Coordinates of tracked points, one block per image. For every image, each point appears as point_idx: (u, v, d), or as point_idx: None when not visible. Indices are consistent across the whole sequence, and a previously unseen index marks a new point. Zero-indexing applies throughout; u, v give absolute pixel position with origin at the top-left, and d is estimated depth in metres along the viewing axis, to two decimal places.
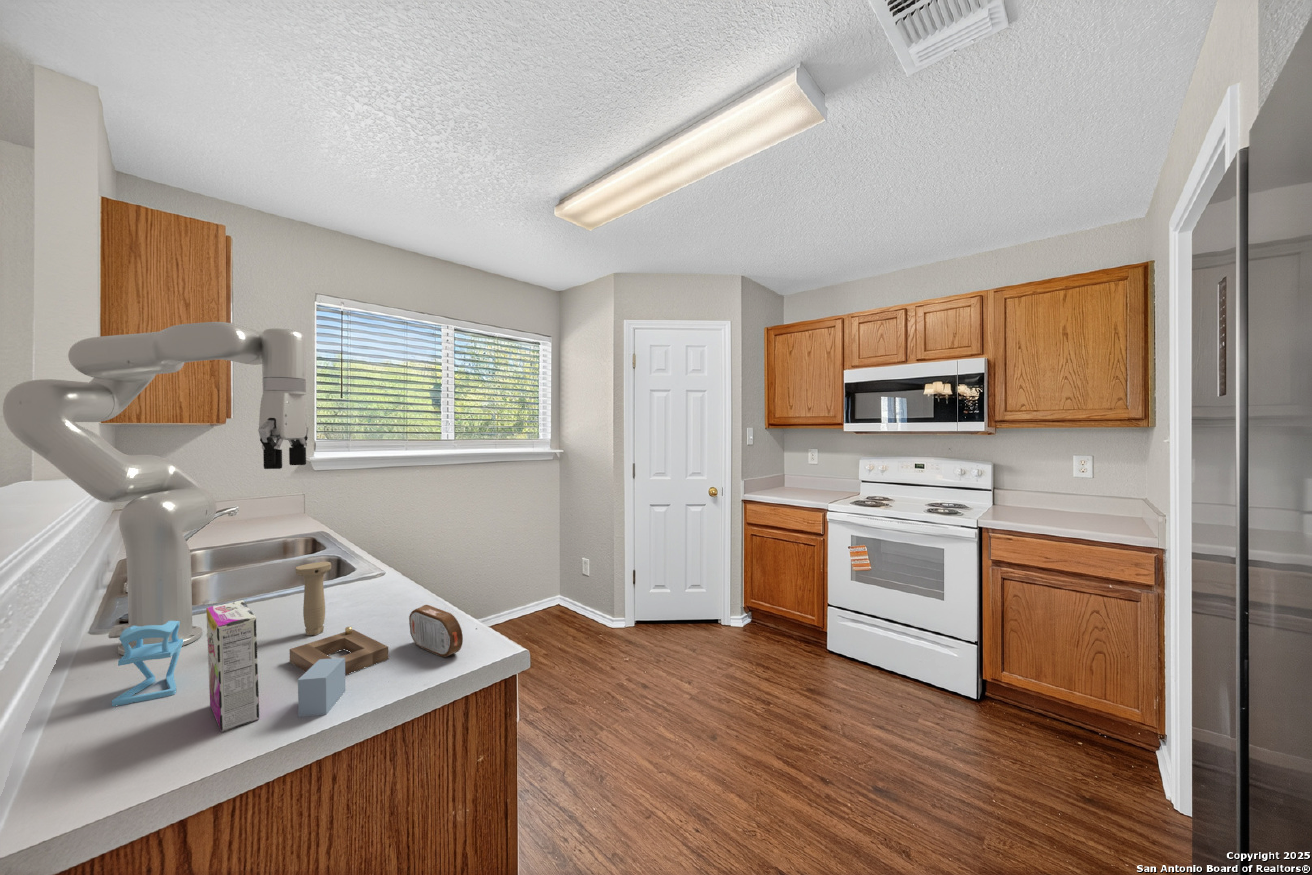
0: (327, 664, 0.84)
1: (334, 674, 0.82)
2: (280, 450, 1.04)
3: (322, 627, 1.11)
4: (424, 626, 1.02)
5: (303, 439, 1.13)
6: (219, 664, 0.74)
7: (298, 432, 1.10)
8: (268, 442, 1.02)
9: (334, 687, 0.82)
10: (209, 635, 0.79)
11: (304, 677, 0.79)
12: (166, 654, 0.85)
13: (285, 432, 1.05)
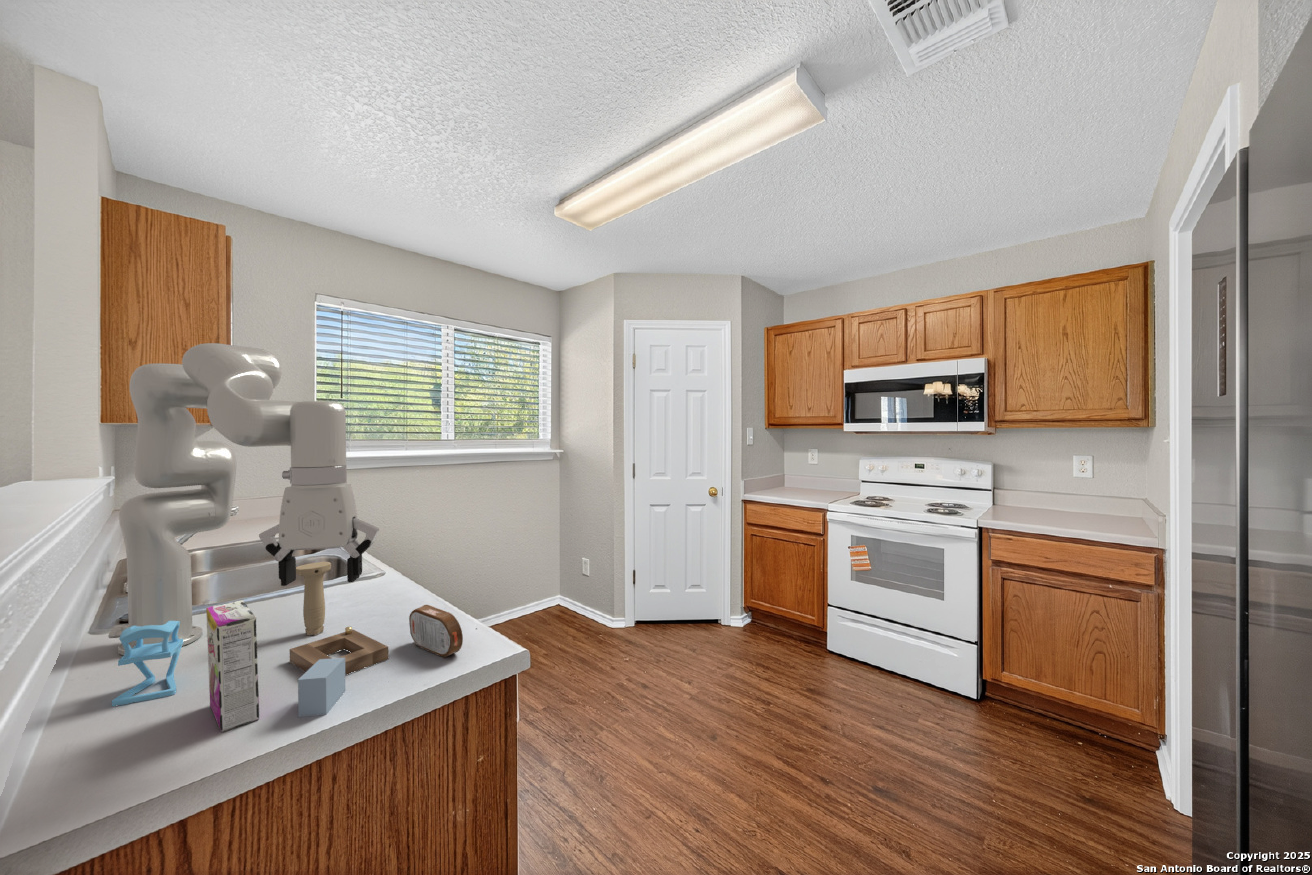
0: (328, 664, 0.84)
1: (334, 674, 0.82)
2: None
3: (322, 627, 1.11)
4: (424, 626, 1.02)
5: None
6: (219, 664, 0.74)
7: None
8: (370, 545, 0.84)
9: (334, 687, 0.82)
10: (209, 635, 0.79)
11: (304, 677, 0.79)
12: (166, 654, 0.85)
13: None
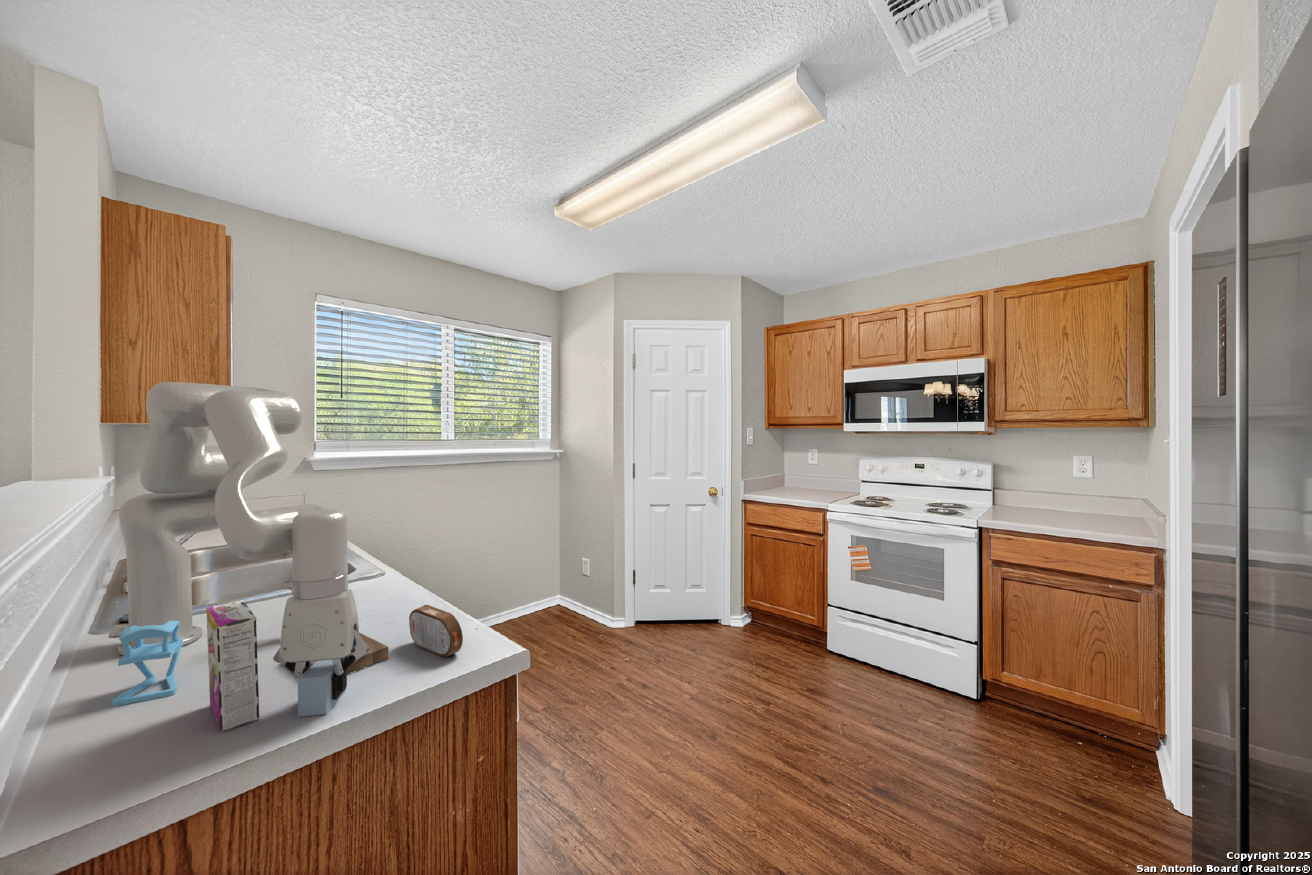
0: (327, 663, 0.84)
1: None
2: None
3: None
4: (424, 626, 1.02)
5: None
6: (219, 664, 0.74)
7: None
8: None
9: None
10: (209, 635, 0.79)
11: (303, 676, 0.79)
12: (166, 654, 0.85)
13: None
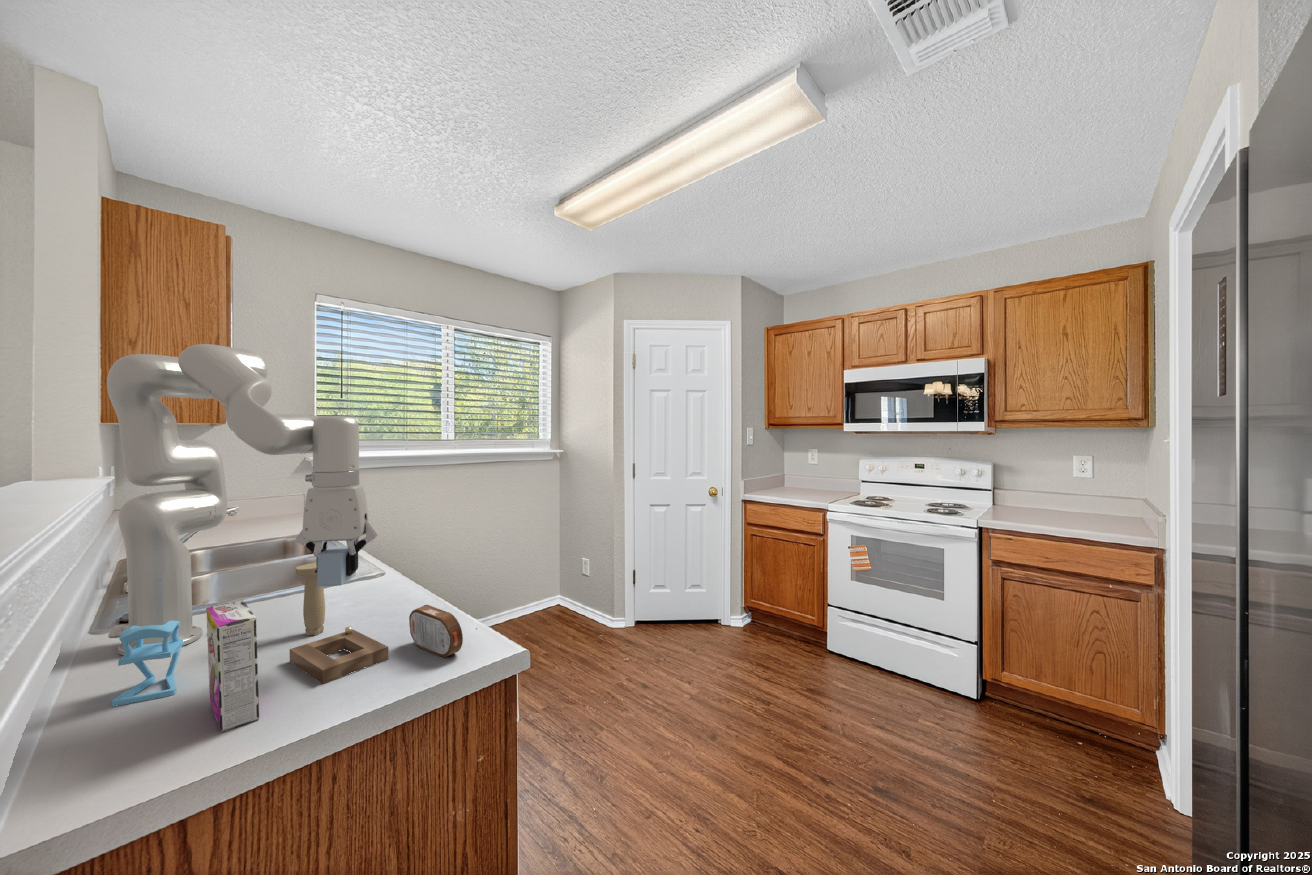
0: (341, 548, 0.98)
1: (347, 554, 0.97)
2: None
3: (322, 627, 1.11)
4: (424, 626, 1.02)
5: None
6: (219, 664, 0.74)
7: None
8: None
9: None
10: (209, 635, 0.79)
11: (322, 553, 0.94)
12: (166, 654, 0.85)
13: None
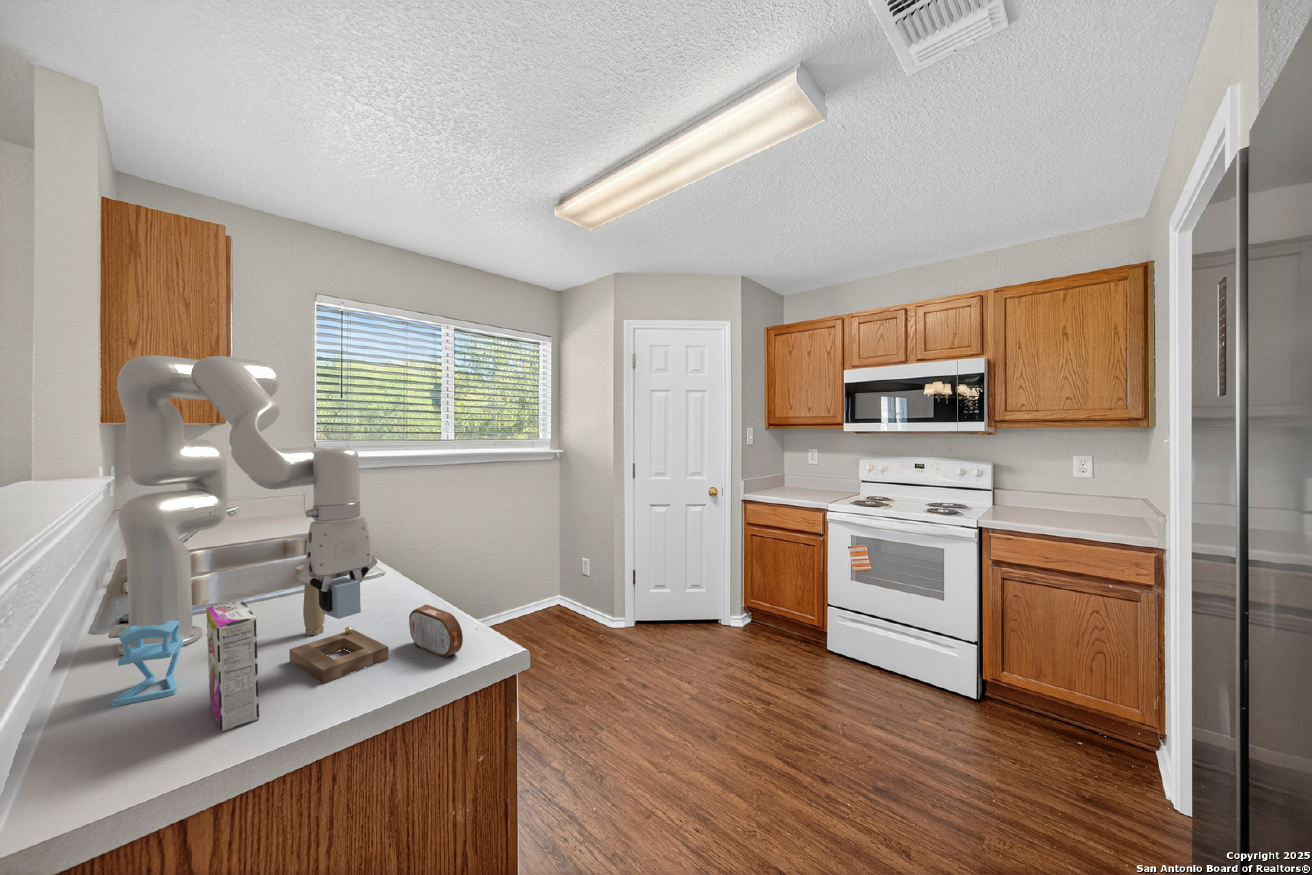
0: (338, 580, 0.98)
1: None
2: None
3: (322, 627, 1.11)
4: (424, 626, 1.02)
5: None
6: (219, 664, 0.74)
7: None
8: None
9: None
10: (209, 635, 0.79)
11: (339, 585, 0.94)
12: (166, 654, 0.85)
13: None
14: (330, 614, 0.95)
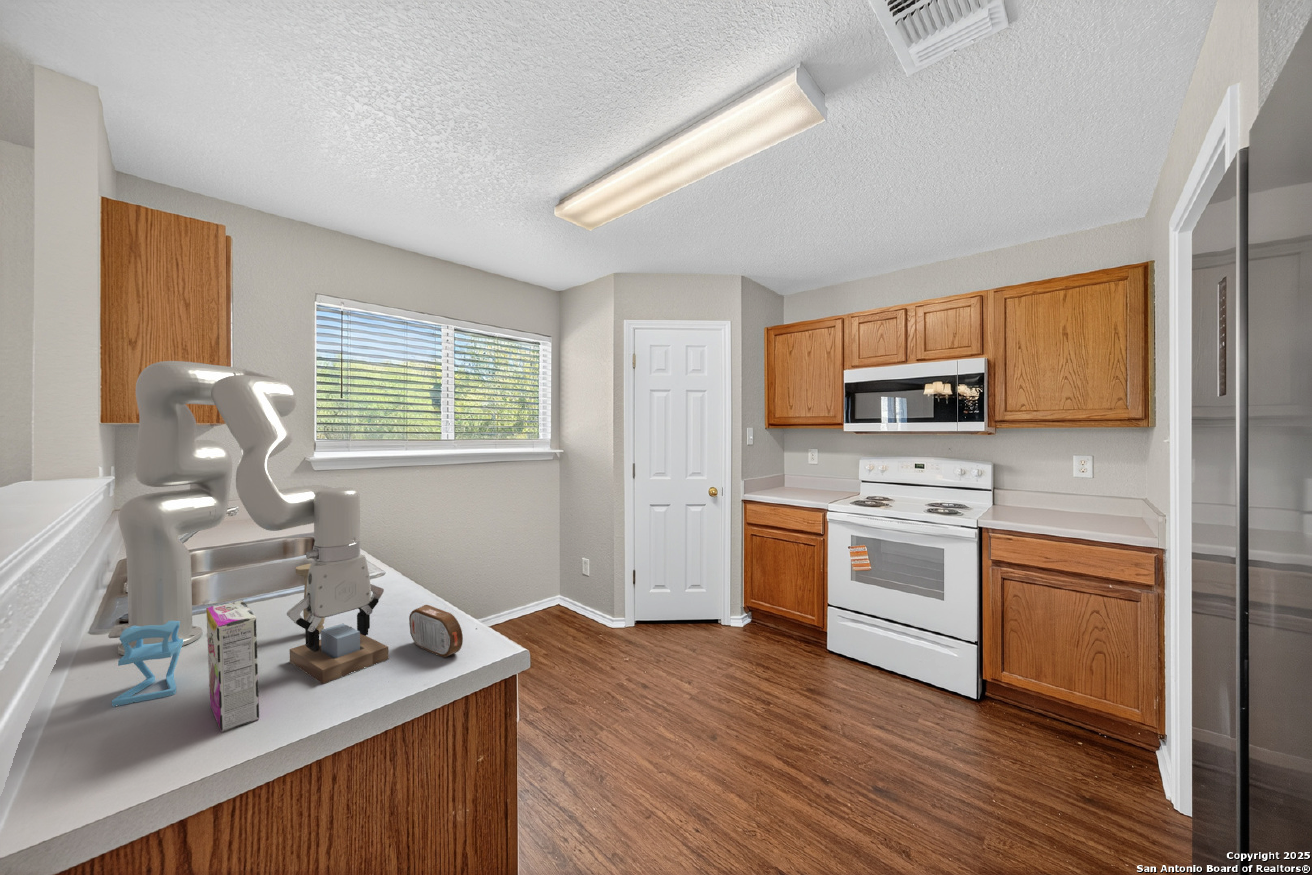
0: (339, 628, 0.98)
1: None
2: None
3: (322, 627, 1.11)
4: (424, 626, 1.02)
5: None
6: (219, 664, 0.74)
7: None
8: None
9: None
10: (209, 635, 0.79)
11: (340, 636, 0.95)
12: (166, 654, 0.85)
13: None
14: None
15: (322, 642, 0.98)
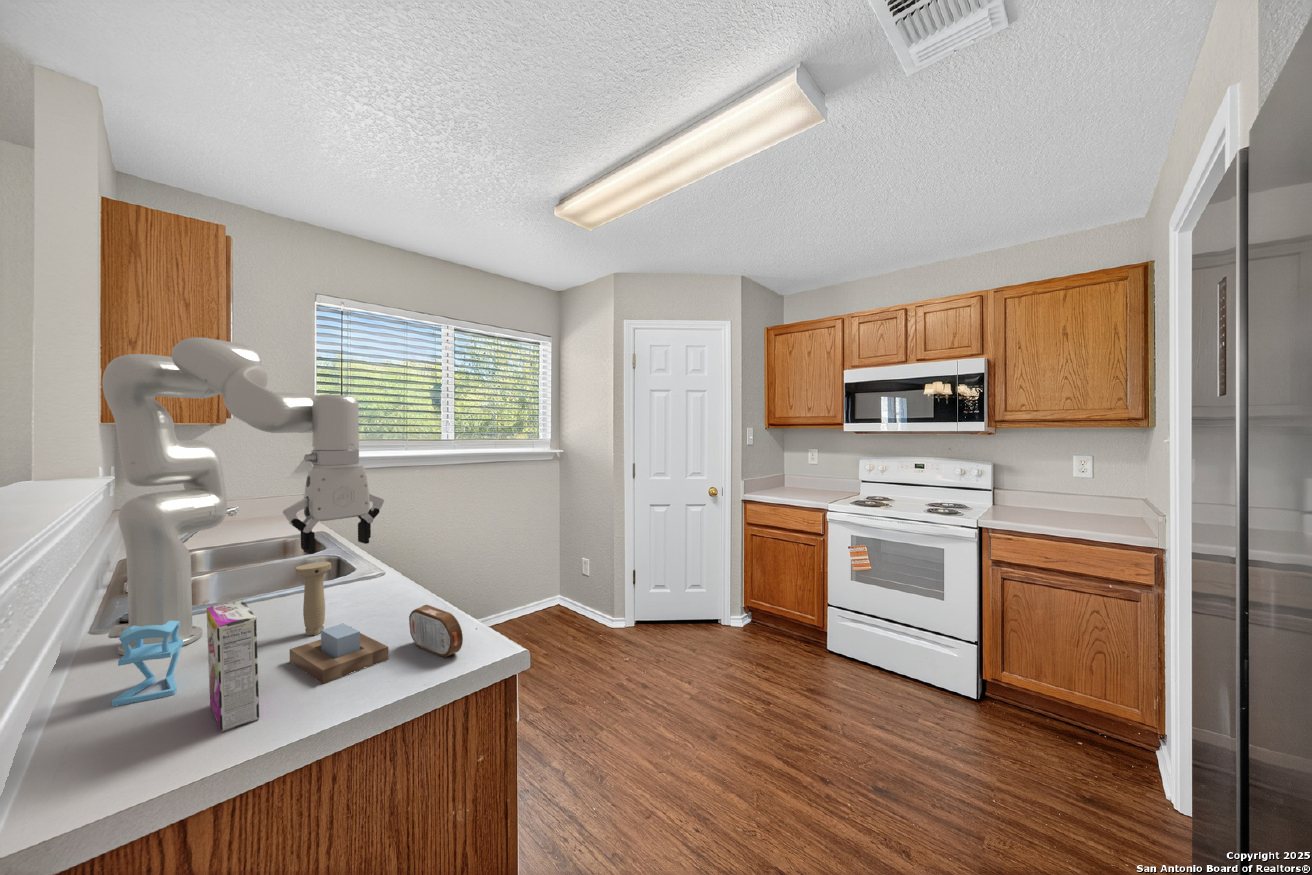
0: (339, 628, 0.98)
1: None
2: None
3: (322, 627, 1.11)
4: (424, 626, 1.02)
5: None
6: (219, 664, 0.74)
7: None
8: None
9: None
10: (209, 635, 0.79)
11: (340, 636, 0.95)
12: (166, 654, 0.85)
13: None
14: None
15: (322, 642, 0.98)
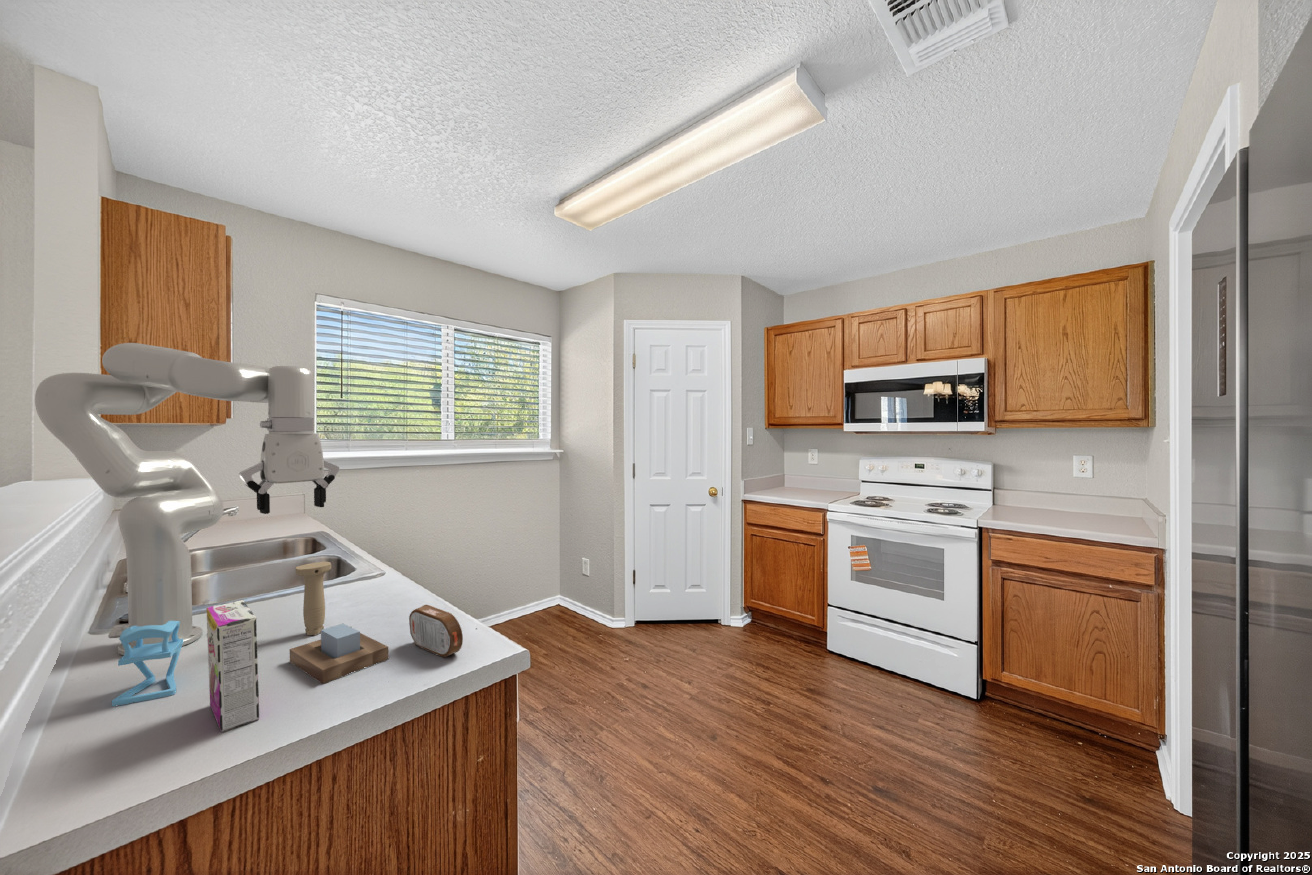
0: (339, 628, 0.98)
1: None
2: None
3: (322, 627, 1.11)
4: (424, 626, 1.02)
5: None
6: (219, 664, 0.74)
7: None
8: None
9: None
10: (209, 635, 0.79)
11: (340, 636, 0.95)
12: (166, 654, 0.85)
13: None
14: None
15: (322, 642, 0.98)
